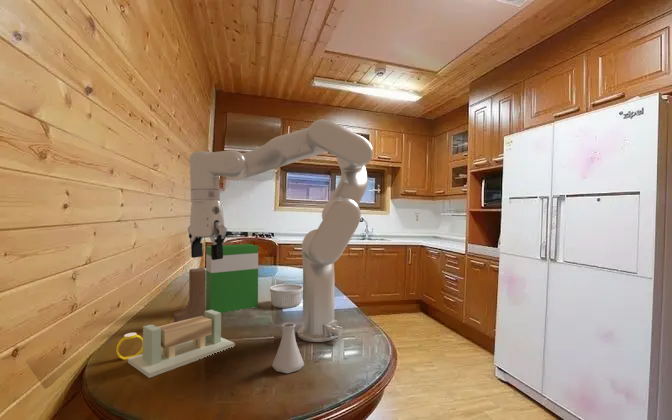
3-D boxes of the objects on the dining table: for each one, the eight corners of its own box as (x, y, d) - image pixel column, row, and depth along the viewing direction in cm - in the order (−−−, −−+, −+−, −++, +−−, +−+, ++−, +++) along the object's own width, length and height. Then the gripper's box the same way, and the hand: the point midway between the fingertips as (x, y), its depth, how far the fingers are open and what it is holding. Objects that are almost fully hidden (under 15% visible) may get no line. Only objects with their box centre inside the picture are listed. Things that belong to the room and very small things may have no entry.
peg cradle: (234, 346, 90) (234, 313, 90) (149, 377, 73) (149, 337, 73) (210, 336, 98) (210, 305, 98) (127, 362, 80) (128, 325, 81)
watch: (117, 363, 81) (115, 339, 80) (116, 360, 83) (114, 336, 82) (145, 355, 84) (144, 332, 84) (144, 352, 86) (142, 329, 86)
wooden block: (175, 330, 103) (175, 272, 103) (173, 325, 107) (174, 270, 107) (205, 325, 108) (206, 269, 108) (203, 321, 111) (203, 267, 112)
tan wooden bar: (211, 334, 88) (211, 319, 88) (164, 348, 79) (164, 331, 79) (202, 330, 92) (202, 315, 92) (156, 343, 83) (156, 326, 83)
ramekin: (309, 303, 135) (309, 286, 135) (288, 311, 123) (288, 292, 123) (284, 298, 142) (284, 282, 142) (262, 305, 130) (262, 288, 131)
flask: (289, 357, 84) (289, 317, 84) (309, 365, 79) (309, 324, 79) (266, 367, 78) (266, 325, 78) (287, 377, 74) (287, 332, 74)
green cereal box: (251, 302, 135) (251, 243, 135) (257, 307, 129) (258, 245, 129) (205, 309, 125) (206, 246, 125) (210, 314, 119) (211, 247, 119)
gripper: (236, 195, 90) (237, 258, 90) (200, 198, 100) (201, 254, 100) (211, 194, 84) (213, 262, 84) (176, 197, 94) (177, 258, 94)
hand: (206, 258), depth 92 cm, fingers open, 9 cm apart
